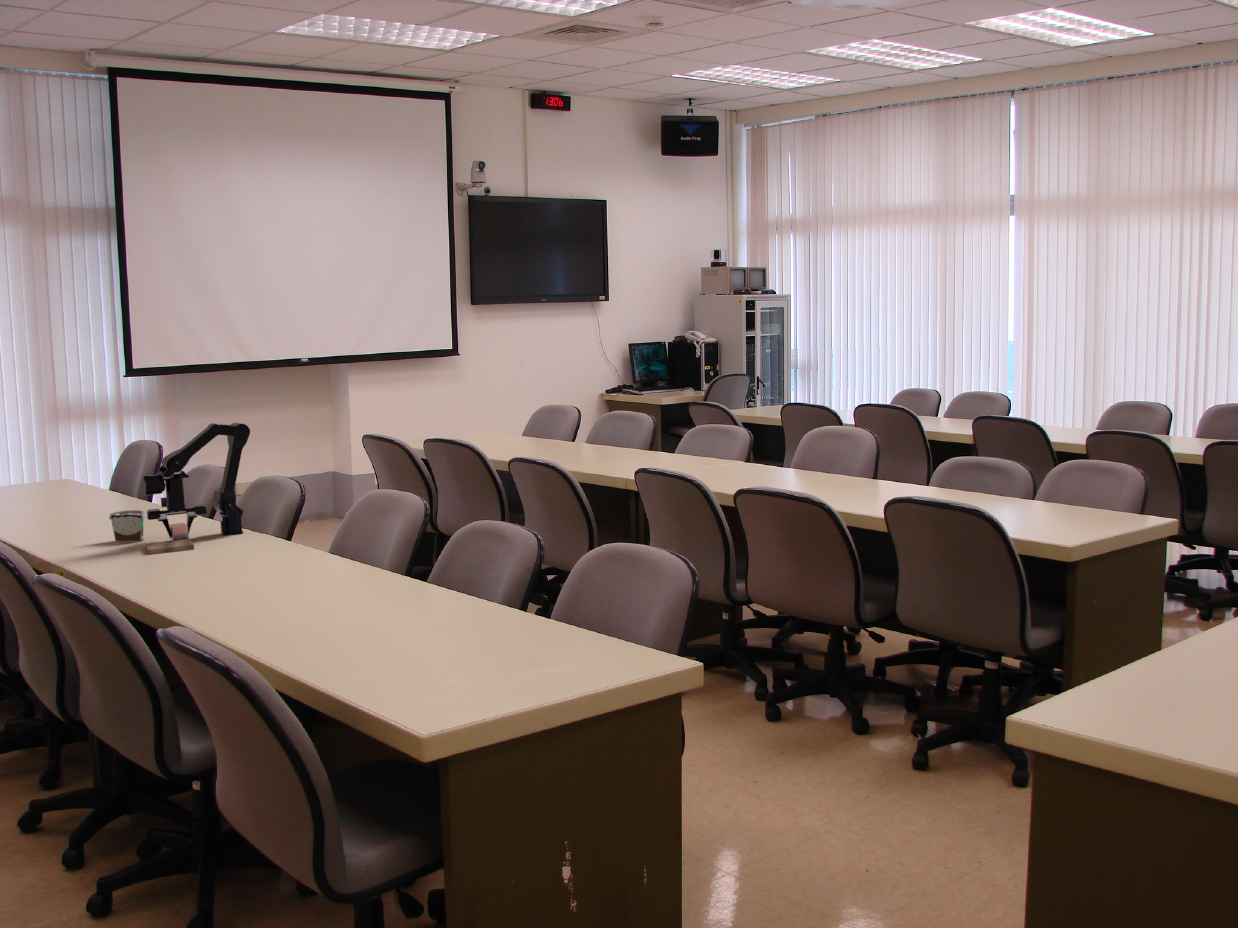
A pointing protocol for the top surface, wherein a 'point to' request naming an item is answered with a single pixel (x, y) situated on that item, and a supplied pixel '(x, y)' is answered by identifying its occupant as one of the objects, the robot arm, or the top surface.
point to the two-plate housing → (179, 531)
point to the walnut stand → (169, 546)
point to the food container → (128, 525)
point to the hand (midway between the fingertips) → (179, 536)
